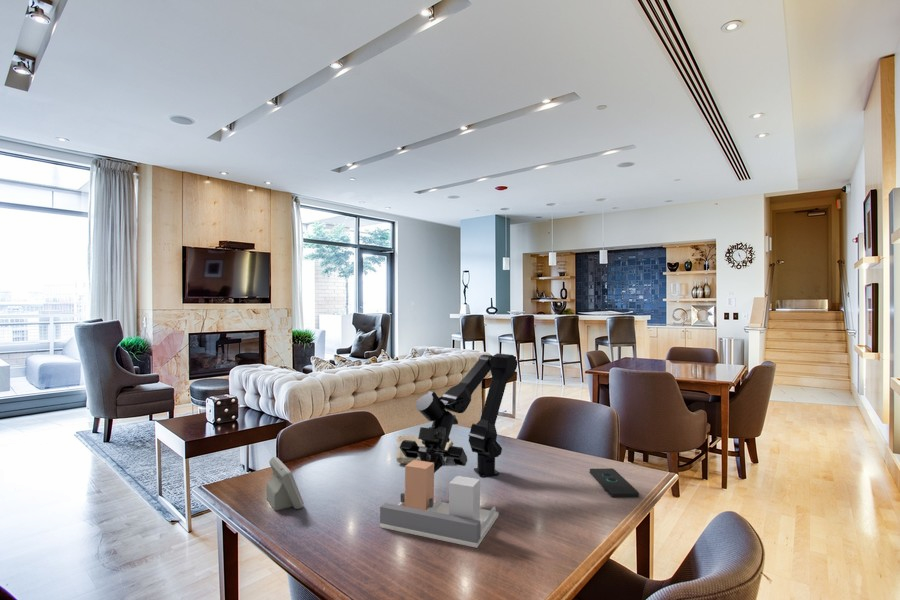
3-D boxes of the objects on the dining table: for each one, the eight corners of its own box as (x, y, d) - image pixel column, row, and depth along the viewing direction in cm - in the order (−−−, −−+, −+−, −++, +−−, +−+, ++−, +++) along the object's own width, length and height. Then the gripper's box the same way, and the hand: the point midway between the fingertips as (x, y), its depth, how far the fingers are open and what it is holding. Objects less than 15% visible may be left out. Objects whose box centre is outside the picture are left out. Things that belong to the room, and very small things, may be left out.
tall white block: (456, 520, 117) (456, 475, 117) (479, 524, 115) (480, 479, 115) (449, 529, 113) (449, 482, 113) (472, 534, 110) (473, 486, 110)
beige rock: (447, 445, 185) (396, 441, 183) (449, 426, 185) (398, 422, 183) (453, 470, 161) (393, 466, 159) (455, 448, 160) (395, 444, 159)
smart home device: (613, 467, 154) (640, 492, 134) (613, 473, 154) (640, 499, 134) (588, 468, 154) (611, 493, 134) (588, 473, 154) (611, 499, 134)
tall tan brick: (413, 500, 129) (413, 459, 129) (433, 504, 126) (434, 462, 126) (405, 507, 124) (405, 465, 124) (425, 511, 122) (426, 468, 122)
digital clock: (304, 511, 125) (304, 470, 125) (267, 516, 122) (267, 475, 122) (298, 488, 140) (298, 452, 140) (265, 493, 137) (265, 456, 137)
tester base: (411, 500, 132) (411, 482, 132) (498, 515, 122) (498, 496, 122) (380, 527, 116) (380, 506, 116) (476, 547, 107) (477, 525, 107)
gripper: (402, 411, 136) (382, 462, 126) (463, 418, 129) (447, 472, 119) (415, 432, 144) (397, 481, 133) (473, 439, 136) (459, 492, 126)
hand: (423, 481), depth 128 cm, fingers closed, pressing on tall tan brick
